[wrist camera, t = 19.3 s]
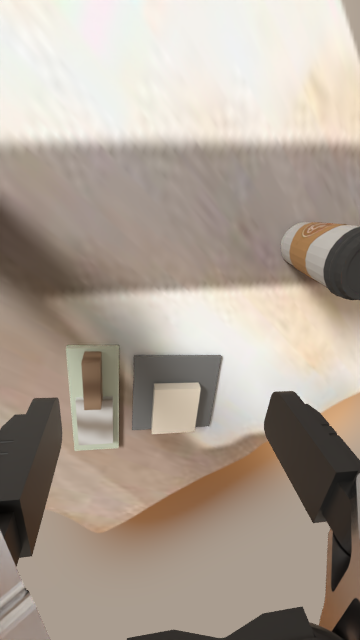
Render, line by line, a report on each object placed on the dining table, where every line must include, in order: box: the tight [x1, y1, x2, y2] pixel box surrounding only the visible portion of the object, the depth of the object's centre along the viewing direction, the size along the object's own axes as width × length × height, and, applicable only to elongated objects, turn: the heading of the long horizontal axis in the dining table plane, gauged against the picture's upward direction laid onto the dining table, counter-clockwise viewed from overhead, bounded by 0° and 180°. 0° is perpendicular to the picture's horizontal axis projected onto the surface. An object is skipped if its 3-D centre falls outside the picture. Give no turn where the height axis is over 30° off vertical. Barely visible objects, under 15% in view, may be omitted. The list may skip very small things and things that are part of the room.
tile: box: [151, 382, 201, 434], centre depth 52 cm, size 8×2×10 cm
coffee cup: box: [281, 222, 360, 300], centre depth 37 cm, size 8×8×15 cm
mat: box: [132, 355, 221, 430], centre depth 52 cm, size 15×16×1 cm
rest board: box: [66, 345, 119, 451], centre depth 50 cm, size 8×22×1 cm, turn 175°
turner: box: [75, 351, 113, 445], centre depth 47 cm, size 19×6×3 cm, turn 175°
